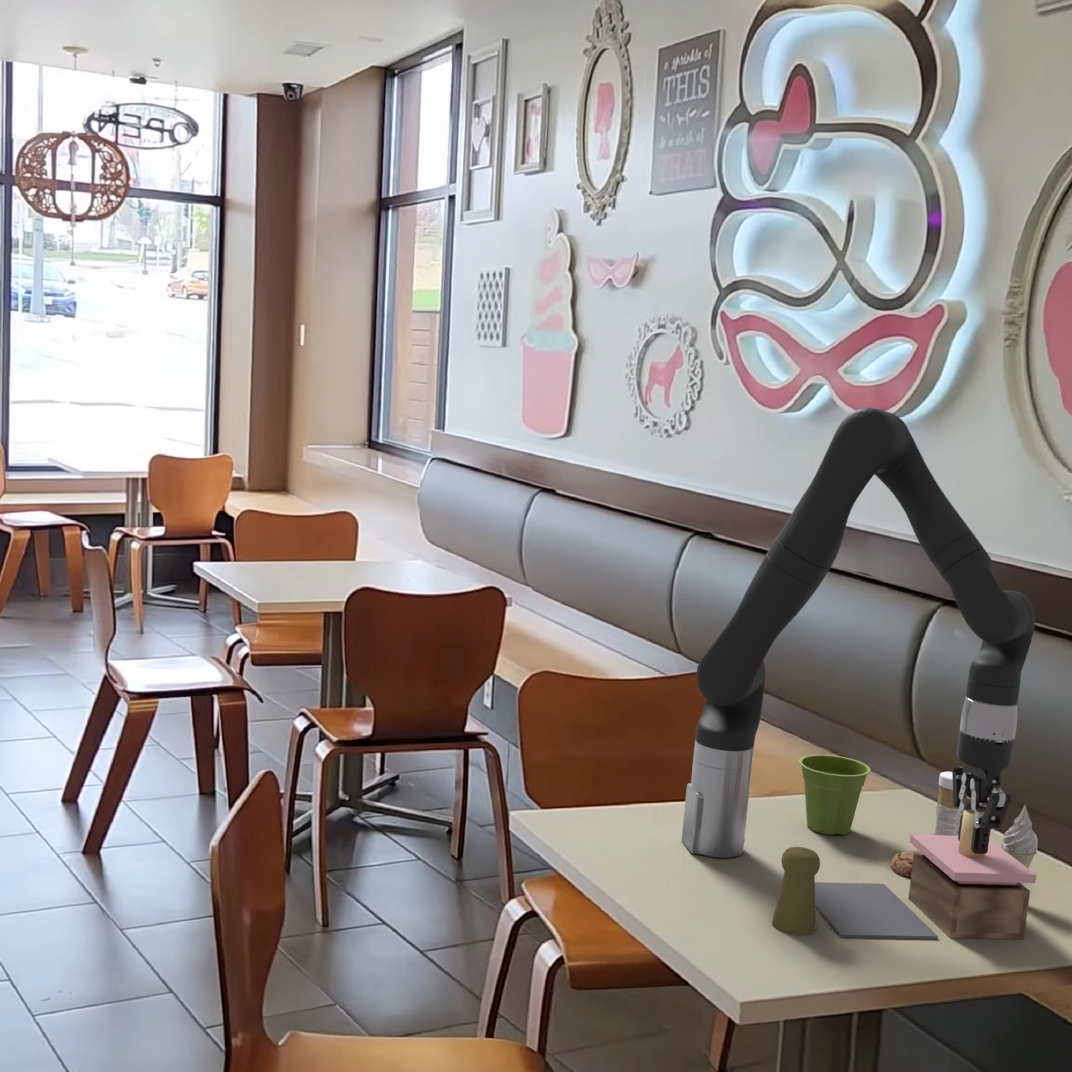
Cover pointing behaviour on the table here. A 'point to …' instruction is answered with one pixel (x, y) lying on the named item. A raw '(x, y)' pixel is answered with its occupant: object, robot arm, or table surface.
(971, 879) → the lid
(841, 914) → the mat
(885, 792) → the table surface
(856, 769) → the plant pot
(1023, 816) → the ice cream cone
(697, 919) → the table surface
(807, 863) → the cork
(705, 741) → the robot arm
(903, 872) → the cookie
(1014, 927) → the box
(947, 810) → the sprinkles bottle
